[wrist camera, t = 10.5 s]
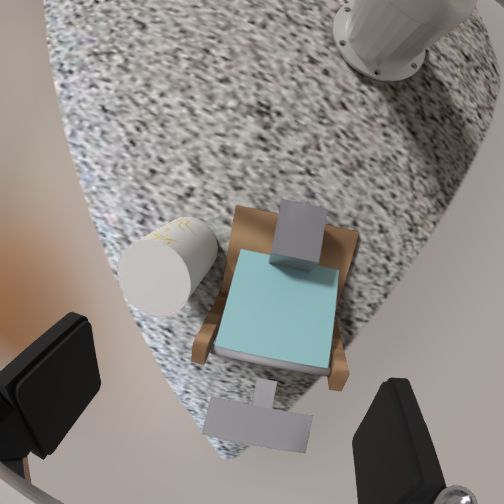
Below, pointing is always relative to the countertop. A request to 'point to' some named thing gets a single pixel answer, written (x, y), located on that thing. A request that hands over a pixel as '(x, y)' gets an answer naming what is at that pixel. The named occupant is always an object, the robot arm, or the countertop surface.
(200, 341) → the frame
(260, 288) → the trapdoor
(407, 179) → the countertop surface
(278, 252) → the grey block
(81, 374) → the robot arm
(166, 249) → the cup
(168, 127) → the countertop surface
